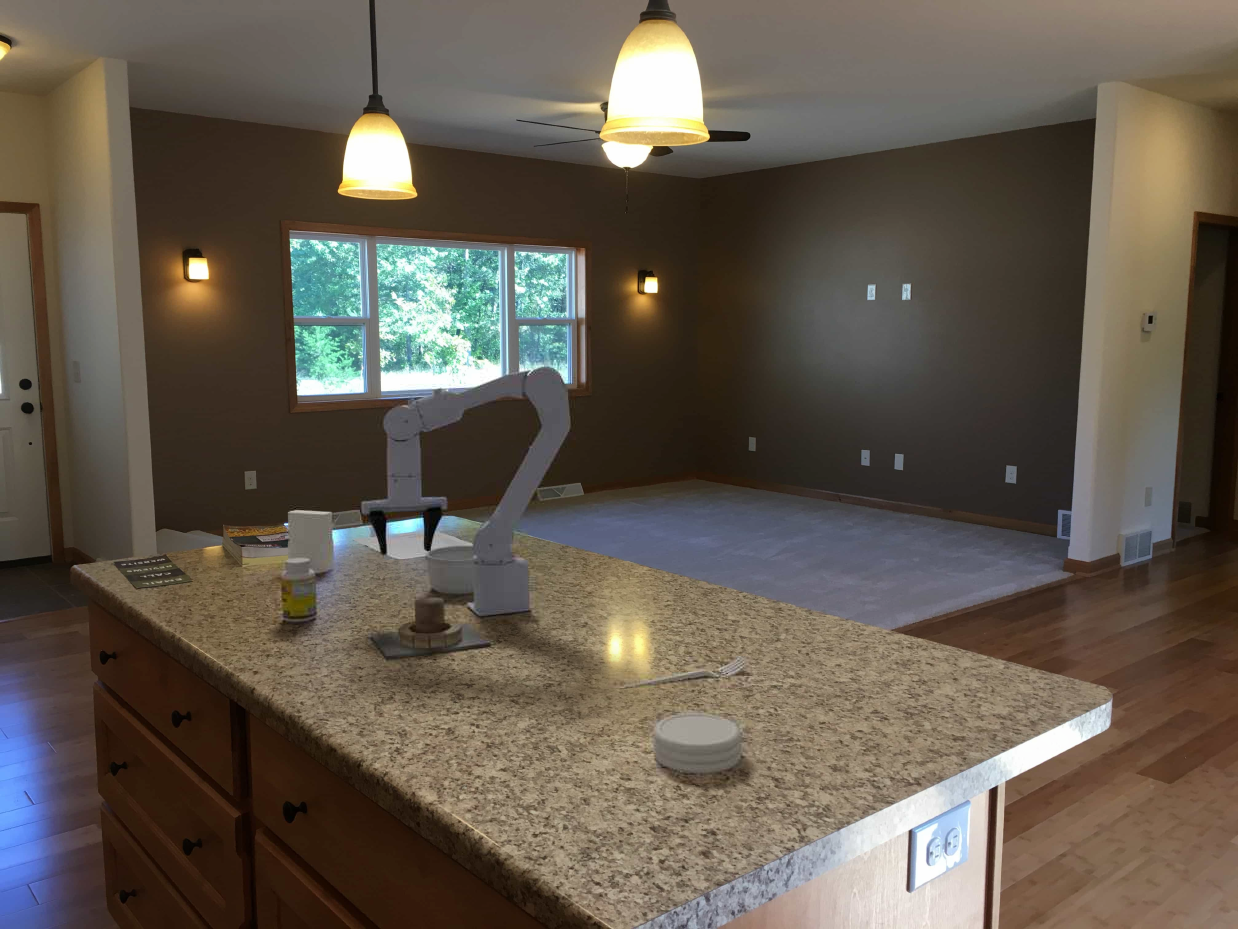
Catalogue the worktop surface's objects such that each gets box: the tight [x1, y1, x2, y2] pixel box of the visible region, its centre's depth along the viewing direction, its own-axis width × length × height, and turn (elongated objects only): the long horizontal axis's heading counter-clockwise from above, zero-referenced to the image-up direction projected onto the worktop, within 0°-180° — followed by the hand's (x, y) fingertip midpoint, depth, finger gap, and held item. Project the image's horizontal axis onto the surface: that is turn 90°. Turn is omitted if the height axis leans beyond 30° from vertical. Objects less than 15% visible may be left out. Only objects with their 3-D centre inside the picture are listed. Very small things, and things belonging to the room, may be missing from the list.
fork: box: [622, 656, 750, 689], centre depth 136 cm, size 3×20×2 cm, turn 113°
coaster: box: [652, 712, 743, 775], centre depth 111 cm, size 10×10×4 cm
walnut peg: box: [414, 597, 445, 634], centre depth 153 cm, size 4×4×6 cm
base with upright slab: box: [287, 509, 335, 574], centre depth 202 cm, size 9×9×12 cm
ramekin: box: [425, 545, 476, 595], centre depth 188 cm, size 13×13×7 cm
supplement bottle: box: [280, 558, 318, 623], centre depth 165 cm, size 6×6×10 cm
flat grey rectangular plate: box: [370, 618, 492, 660], centre depth 153 cm, size 16×12×2 cm
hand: (405, 551), depth 170 cm, fingers open, 7 cm apart
